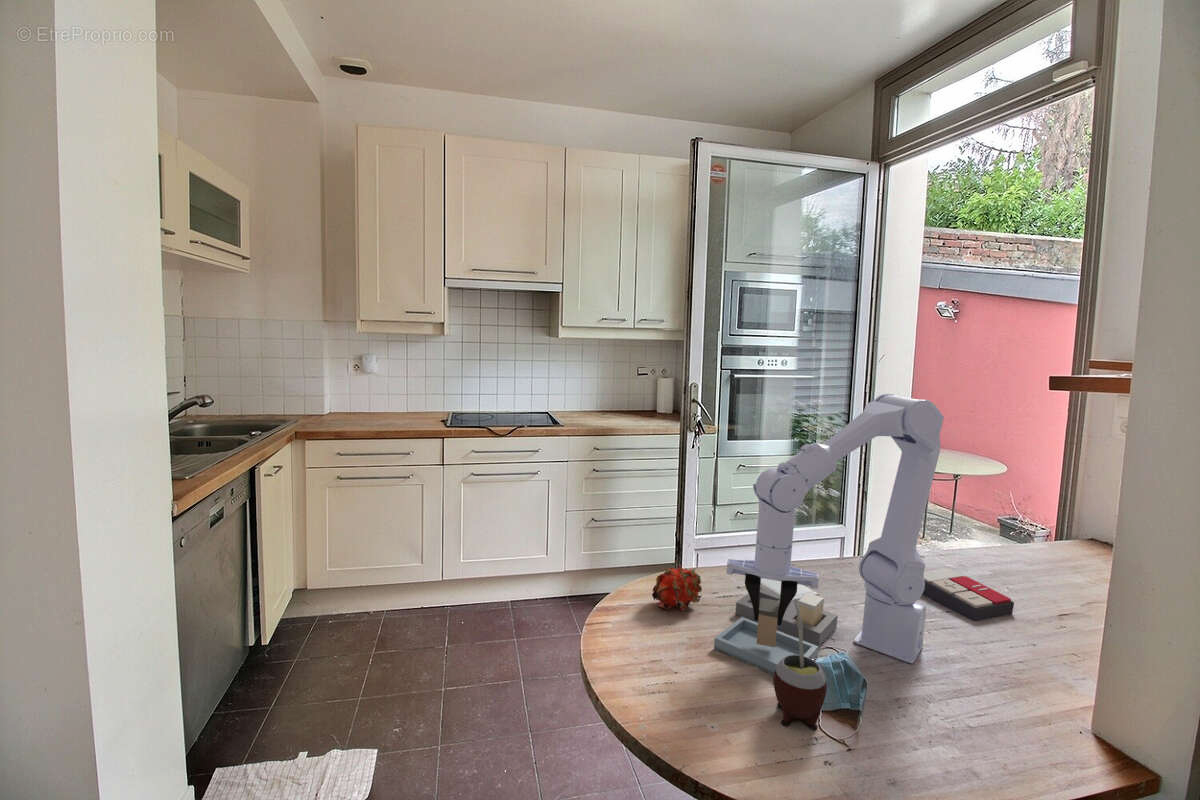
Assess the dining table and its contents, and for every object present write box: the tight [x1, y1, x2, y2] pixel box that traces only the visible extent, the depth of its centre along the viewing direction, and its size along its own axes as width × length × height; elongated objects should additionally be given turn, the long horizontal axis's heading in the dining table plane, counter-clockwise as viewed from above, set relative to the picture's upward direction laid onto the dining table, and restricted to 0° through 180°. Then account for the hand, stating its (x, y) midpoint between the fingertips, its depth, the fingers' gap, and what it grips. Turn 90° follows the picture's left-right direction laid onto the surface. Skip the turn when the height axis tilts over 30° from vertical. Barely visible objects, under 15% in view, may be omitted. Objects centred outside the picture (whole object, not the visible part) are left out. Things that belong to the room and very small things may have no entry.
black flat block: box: [921, 568, 1015, 622], centre depth 119 cm, size 11×4×15 cm
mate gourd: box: [772, 599, 828, 732], centre depth 81 cm, size 8×8×15 cm
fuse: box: [797, 593, 825, 627], centre depth 105 cm, size 3×4×6 cm, turn 140°
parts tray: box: [713, 617, 819, 676], centre depth 97 cm, size 14×10×2 cm
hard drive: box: [760, 578, 820, 601], centre depth 122 cm, size 2×8×12 cm
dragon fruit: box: [651, 564, 703, 612], centre depth 112 cm, size 8×8×12 cm
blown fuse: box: [756, 598, 779, 647], centre depth 96 cm, size 3×4×6 cm, turn 162°
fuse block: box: [735, 588, 838, 648], centre depth 108 cm, size 16×9×2 cm, turn 49°
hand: (767, 620), depth 96 cm, fingers closed on blown fuse, 3 cm apart
